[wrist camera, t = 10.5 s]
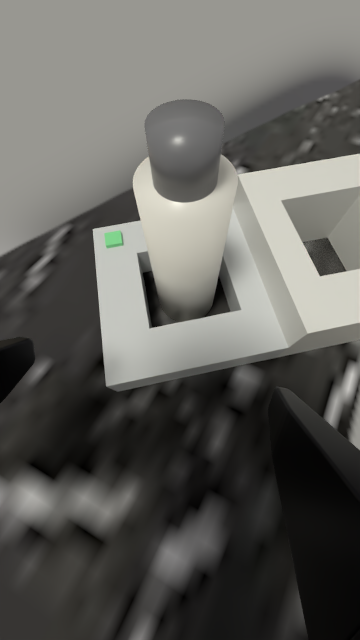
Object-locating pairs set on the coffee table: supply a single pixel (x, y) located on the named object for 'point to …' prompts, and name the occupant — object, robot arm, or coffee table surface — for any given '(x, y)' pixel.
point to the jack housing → (242, 280)
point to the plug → (185, 204)
